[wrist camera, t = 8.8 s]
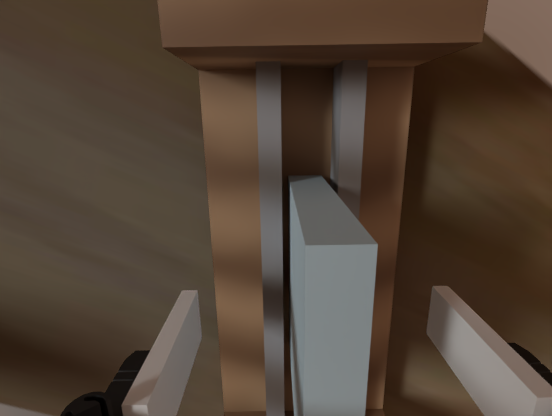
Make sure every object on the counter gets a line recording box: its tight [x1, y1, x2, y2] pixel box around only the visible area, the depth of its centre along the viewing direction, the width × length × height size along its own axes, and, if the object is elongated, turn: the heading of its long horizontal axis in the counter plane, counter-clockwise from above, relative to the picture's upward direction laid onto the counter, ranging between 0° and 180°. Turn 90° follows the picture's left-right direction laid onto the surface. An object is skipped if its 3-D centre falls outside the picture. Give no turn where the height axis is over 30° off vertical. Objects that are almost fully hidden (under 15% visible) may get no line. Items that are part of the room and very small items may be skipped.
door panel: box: [288, 175, 378, 416], centre depth 16 cm, size 12×3×11 cm, turn 1°
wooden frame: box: [158, 0, 488, 416], centre depth 19 cm, size 28×12×8 cm, turn 1°
